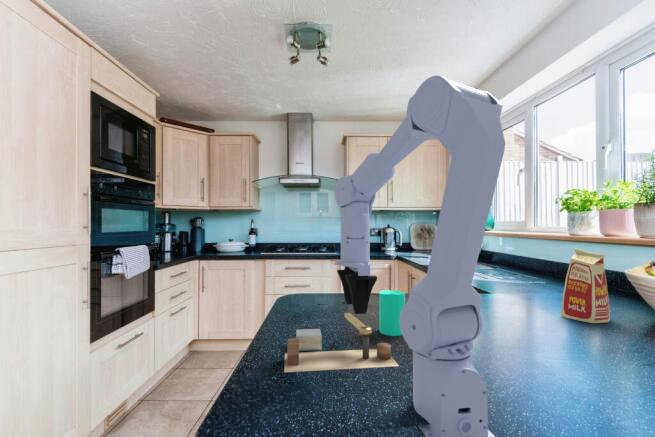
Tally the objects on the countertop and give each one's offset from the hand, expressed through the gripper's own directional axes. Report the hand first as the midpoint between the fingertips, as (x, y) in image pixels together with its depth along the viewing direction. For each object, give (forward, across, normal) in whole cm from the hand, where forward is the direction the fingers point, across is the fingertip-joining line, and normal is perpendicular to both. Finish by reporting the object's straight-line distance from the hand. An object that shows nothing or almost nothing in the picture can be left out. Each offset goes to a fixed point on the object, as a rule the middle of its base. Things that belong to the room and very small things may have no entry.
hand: (355, 308), depth 59 cm
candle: (+10, -11, +12) cm, 19 cm away
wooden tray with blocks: (+10, +2, -4) cm, 11 cm away
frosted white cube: (+10, -5, -9) cm, 14 cm away
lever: (+4, -2, +1) cm, 5 cm away
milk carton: (+10, -19, +72) cm, 76 cm away
